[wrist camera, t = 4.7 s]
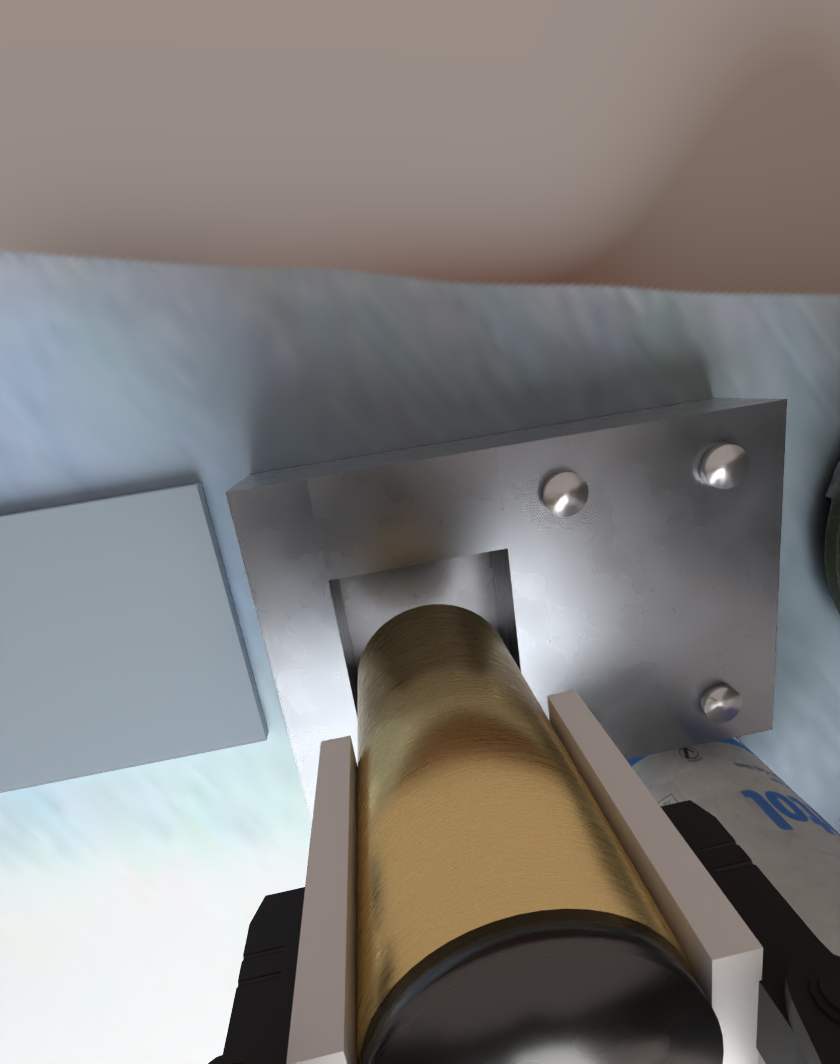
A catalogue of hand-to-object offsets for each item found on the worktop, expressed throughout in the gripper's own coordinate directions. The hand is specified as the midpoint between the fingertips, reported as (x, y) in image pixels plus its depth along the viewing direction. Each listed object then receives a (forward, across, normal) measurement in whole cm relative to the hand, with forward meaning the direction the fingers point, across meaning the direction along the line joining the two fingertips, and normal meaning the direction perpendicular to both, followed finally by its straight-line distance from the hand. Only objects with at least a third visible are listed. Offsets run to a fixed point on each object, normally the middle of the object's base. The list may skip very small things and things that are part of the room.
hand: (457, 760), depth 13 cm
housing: (+10, +4, 0) cm, 11 cm away
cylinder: (+4, 0, 0) cm, 4 cm away
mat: (+10, -14, +1) cm, 17 cm away
